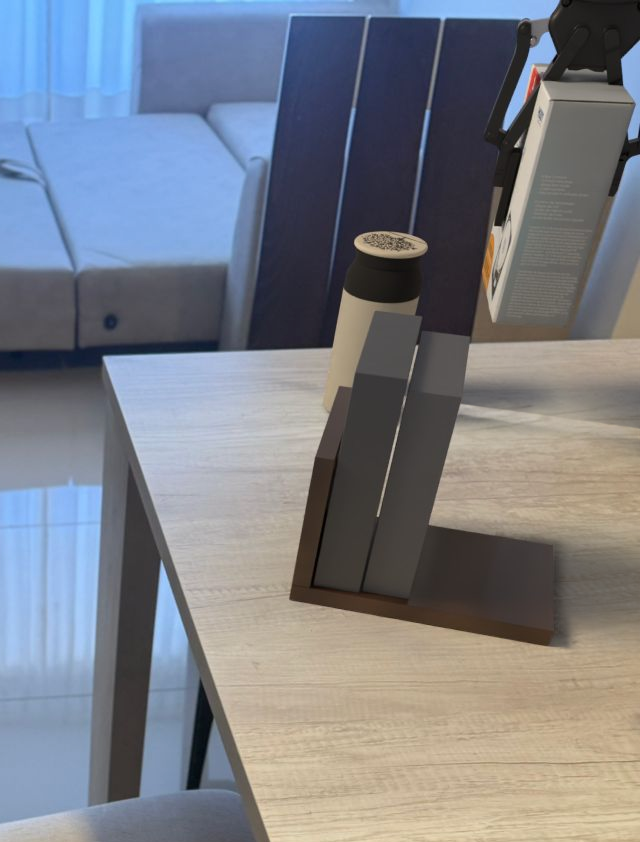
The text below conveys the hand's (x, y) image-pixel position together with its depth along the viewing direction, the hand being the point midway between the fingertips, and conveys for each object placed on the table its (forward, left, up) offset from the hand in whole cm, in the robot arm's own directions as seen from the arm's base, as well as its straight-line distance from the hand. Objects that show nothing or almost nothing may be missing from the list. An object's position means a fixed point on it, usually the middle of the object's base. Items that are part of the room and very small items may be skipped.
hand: (542, 226), depth 115 cm
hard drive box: (0, 0, -7) cm, 7 cm away
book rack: (+4, +36, -21) cm, 42 cm away
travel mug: (+14, +1, -21) cm, 25 cm away
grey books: (+9, +36, -19) cm, 42 cm away
